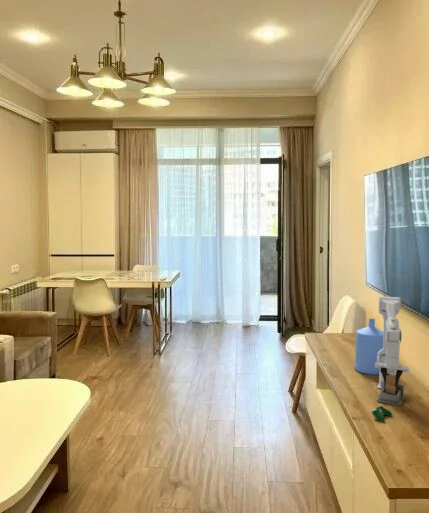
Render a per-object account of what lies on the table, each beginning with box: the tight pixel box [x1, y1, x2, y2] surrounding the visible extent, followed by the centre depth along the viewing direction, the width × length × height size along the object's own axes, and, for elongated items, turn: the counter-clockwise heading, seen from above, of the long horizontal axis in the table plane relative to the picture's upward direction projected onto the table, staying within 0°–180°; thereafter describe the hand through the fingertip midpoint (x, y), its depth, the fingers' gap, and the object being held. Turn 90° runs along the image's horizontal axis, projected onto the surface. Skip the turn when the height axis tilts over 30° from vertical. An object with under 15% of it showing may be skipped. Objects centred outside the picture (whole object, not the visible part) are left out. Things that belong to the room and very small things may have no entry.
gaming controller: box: [371, 404, 393, 423], centre depth 209 cm, size 9×4×6 cm
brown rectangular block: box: [385, 373, 396, 394], centre depth 227 cm, size 4×4×8 cm
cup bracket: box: [376, 381, 405, 407], centre depth 229 cm, size 12×10×6 cm
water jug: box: [354, 318, 386, 376], centre depth 269 cm, size 16×16×28 cm
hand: (390, 385), depth 227 cm, fingers closed on brown rectangular block, 4 cm apart
